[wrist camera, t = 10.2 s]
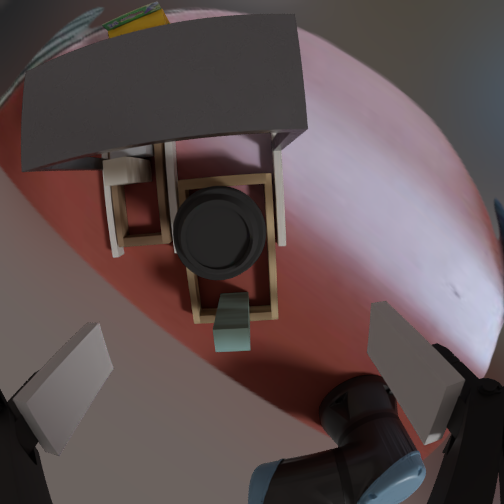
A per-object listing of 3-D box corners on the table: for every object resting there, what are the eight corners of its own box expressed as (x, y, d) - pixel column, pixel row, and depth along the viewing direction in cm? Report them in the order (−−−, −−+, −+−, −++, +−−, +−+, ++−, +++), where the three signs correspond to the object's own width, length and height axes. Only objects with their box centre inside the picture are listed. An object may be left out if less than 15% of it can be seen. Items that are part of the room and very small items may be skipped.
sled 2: (276, 311, 44) (285, 351, 34) (196, 316, 44) (183, 356, 34) (269, 173, 39) (277, 171, 29) (181, 180, 39) (158, 181, 29)
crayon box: (135, 70, 35) (102, 42, 24) (132, 55, 35) (100, 24, 23) (182, 53, 35) (161, 16, 24) (178, 37, 34) (157, -1, 23)
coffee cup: (183, 229, 41) (150, 256, 27) (214, 171, 39) (195, 167, 25) (239, 260, 42) (235, 303, 28) (272, 204, 41) (287, 219, 26)
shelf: (279, 151, 39) (307, 128, 20) (108, 170, 39) (21, 171, 20) (274, 83, 36) (294, 14, 17) (106, 106, 36) (25, 71, 17)
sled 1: (173, 239, 41) (154, 255, 33) (125, 243, 41) (97, 259, 33) (163, 100, 37) (142, 82, 28) (114, 110, 37) (85, 96, 28)
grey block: (157, 155, 39) (145, 153, 34) (125, 160, 39) (110, 159, 34) (155, 121, 37) (144, 115, 33) (123, 127, 38) (109, 122, 33)
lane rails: (284, 242, 42) (286, 245, 40) (118, 254, 42) (112, 257, 40) (274, 80, 36) (275, 75, 34) (106, 102, 36) (100, 100, 34)
